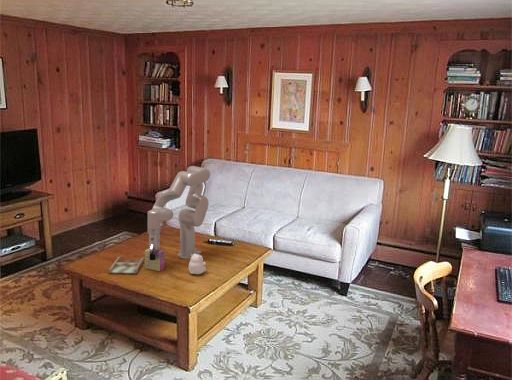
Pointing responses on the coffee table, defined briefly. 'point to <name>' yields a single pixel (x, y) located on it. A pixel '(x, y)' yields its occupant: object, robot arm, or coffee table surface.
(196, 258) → the figurine
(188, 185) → the robot arm
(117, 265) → the rack
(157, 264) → the box
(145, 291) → the coffee table surface
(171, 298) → the coffee table surface
